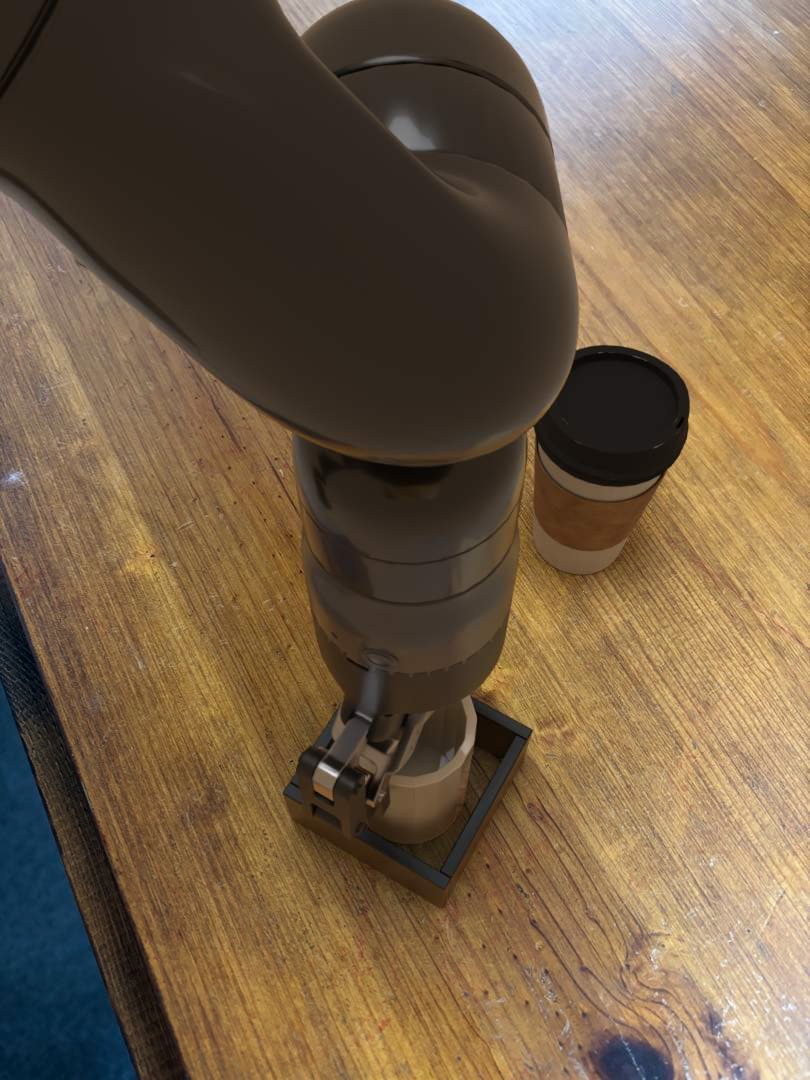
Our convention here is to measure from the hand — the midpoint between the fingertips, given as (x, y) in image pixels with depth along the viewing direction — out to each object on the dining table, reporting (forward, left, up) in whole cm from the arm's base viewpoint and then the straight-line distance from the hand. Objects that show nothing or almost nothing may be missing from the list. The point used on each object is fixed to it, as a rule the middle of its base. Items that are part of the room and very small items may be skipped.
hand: (411, 726), depth 52 cm
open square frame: (0, 0, -10) cm, 10 cm away
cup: (0, 0, -10) cm, 10 cm away
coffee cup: (+20, -1, -10) cm, 22 cm away
